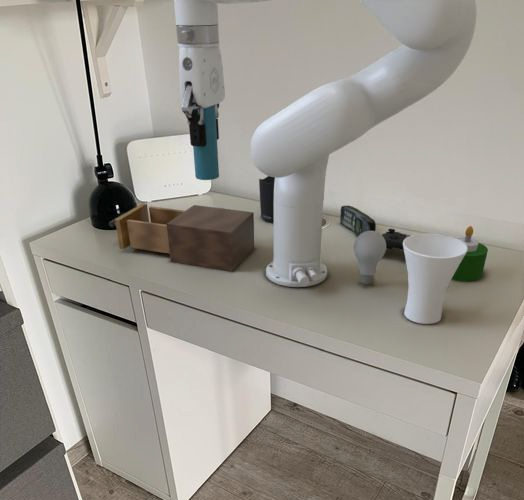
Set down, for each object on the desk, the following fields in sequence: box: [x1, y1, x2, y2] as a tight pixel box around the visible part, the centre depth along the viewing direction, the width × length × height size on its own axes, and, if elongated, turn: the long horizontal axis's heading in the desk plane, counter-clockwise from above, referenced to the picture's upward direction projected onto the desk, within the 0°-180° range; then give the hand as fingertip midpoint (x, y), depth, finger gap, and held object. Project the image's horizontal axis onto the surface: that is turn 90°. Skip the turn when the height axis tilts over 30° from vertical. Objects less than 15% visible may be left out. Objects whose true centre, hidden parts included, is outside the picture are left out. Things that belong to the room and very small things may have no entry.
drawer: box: [108, 202, 185, 255], centre depth 124 cm, size 17×11×7 cm, turn 69°
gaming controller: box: [381, 228, 412, 251], centre depth 118 cm, size 14×6×10 cm
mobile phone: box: [339, 205, 377, 237], centre depth 130 cm, size 5×3×15 cm
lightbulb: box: [353, 230, 387, 286], centre depth 106 cm, size 6×6×11 cm
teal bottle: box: [192, 103, 220, 181], centre depth 107 cm, size 5×5×16 cm
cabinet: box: [167, 204, 255, 272], centre depth 119 cm, size 15×13×9 cm
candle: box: [451, 225, 489, 282], centre depth 110 cm, size 8×8×10 cm
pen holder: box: [258, 175, 275, 224], centre depth 138 cm, size 9×9×10 cm
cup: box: [403, 232, 468, 325], centre depth 95 cm, size 10×10×14 cm
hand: (205, 141), depth 108 cm, fingers closed on teal bottle, 4 cm apart
